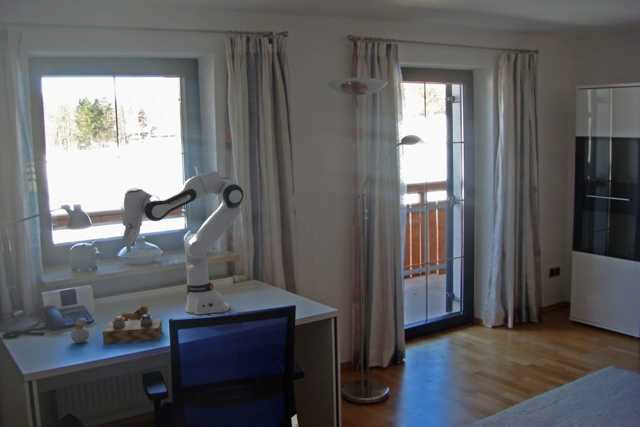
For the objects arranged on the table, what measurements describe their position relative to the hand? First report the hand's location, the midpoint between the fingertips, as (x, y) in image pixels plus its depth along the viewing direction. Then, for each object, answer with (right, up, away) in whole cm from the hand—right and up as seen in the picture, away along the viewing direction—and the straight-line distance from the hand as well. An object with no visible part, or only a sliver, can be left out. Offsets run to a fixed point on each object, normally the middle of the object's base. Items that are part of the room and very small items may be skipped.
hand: (130, 248), depth 322 cm
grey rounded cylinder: (+2, -35, -24) cm, 42 cm away
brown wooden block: (+8, -39, -22) cm, 46 cm away
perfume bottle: (-14, -41, -27) cm, 51 cm away
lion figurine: (+3, -37, -3) cm, 37 cm away
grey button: (+13, -34, -22) cm, 43 cm away
